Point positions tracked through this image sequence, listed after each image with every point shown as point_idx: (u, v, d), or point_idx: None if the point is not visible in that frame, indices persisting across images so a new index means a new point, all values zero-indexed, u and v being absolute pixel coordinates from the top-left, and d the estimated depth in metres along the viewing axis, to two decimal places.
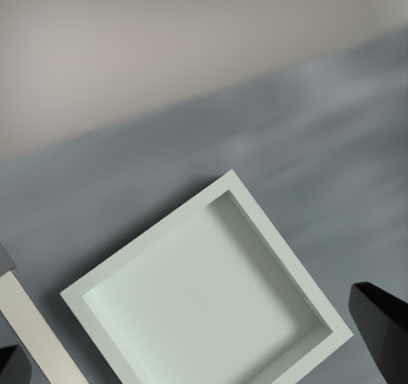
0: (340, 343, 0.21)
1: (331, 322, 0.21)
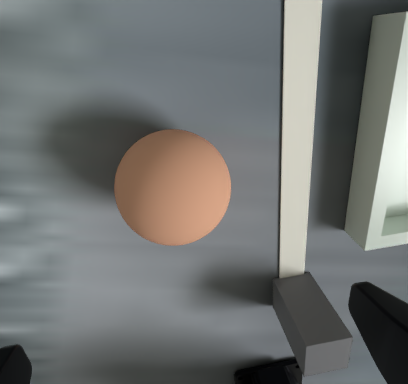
0: None
1: None
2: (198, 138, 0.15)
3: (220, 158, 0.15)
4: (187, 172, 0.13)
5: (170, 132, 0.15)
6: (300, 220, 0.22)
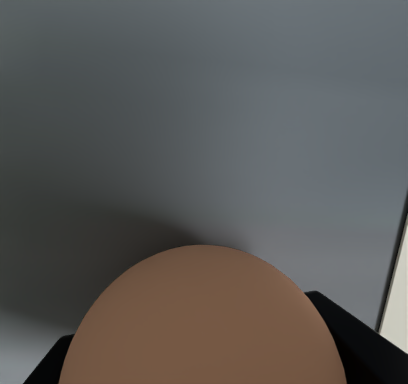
0: None
1: None
2: (275, 294, 0.06)
3: (330, 341, 0.06)
4: None
5: (203, 283, 0.05)
6: (407, 349, 0.13)
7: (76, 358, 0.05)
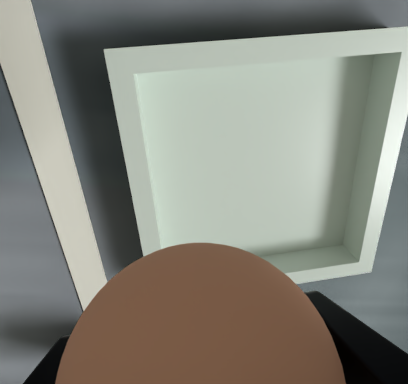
0: (356, 273, 0.19)
1: (364, 253, 0.19)
2: (273, 291, 0.06)
3: (328, 339, 0.06)
4: None
5: (200, 280, 0.05)
6: (93, 267, 0.19)
7: (73, 356, 0.05)
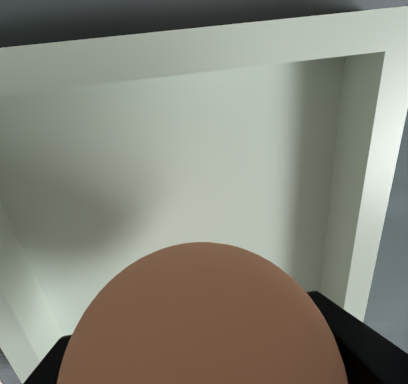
0: None
1: None
2: (276, 291, 0.06)
3: (330, 338, 0.06)
4: None
5: (202, 279, 0.05)
6: None
7: (74, 355, 0.05)
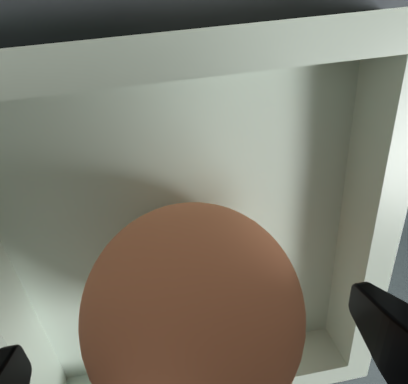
0: (344, 379, 0.13)
1: (356, 355, 0.13)
2: (247, 230, 0.07)
3: (290, 268, 0.07)
4: (236, 333, 0.06)
5: (191, 220, 0.07)
6: None
7: (95, 277, 0.07)
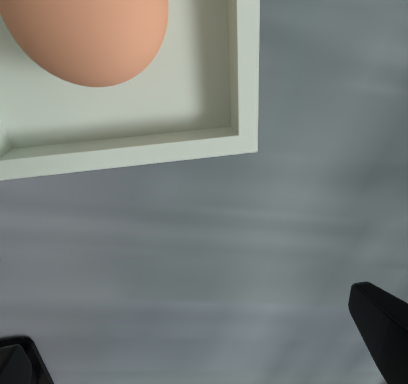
0: (237, 151, 0.16)
1: (244, 123, 0.15)
2: None
3: None
4: None
5: None
6: None
7: None
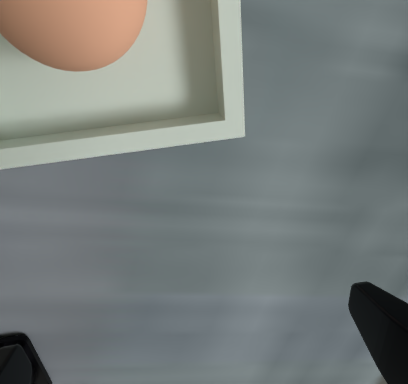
0: (225, 136, 0.16)
1: (230, 108, 0.15)
2: None
3: None
4: None
5: None
6: None
7: None
